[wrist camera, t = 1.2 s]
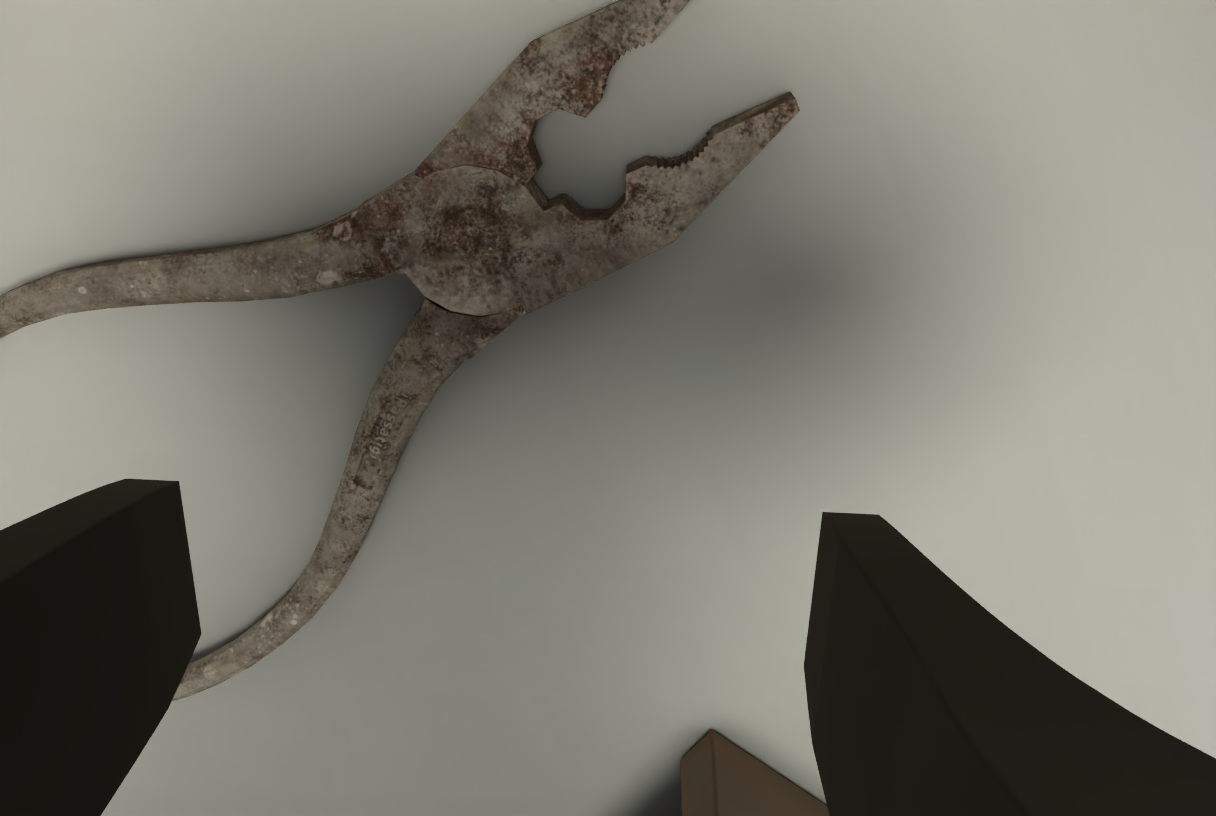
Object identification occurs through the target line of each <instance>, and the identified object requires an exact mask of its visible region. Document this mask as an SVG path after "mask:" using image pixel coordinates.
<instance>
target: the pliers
mask: <svg viewBox="0 0 1216 816" xmlns="http://www.w3.org/2000/svg"><path fill="white" fill-rule="evenodd" d="M689 1H690V0H620V1H617V2H615V3H613V4H611V5H609V6H607V7H604V8H602V9H600V10H598V11H596V12H594V13H592V14H589V15H587V16H585V17H583V18H581V19H579V20H576V21H574V22H572V23H570V24H568V25H566V26H564V27H561V28H559V29H557V30H555V31H553V32H551V33H548V34H546V35H544V36H542V37H540V38H538V39H536V40H533V41H532V42H530V43H529V45H528V46H527V47H526V48H525V49H524V50H523V51H522V52H521V53H520V54H519V56H518V57H517V58H516V59H515V60H514V61H513V62H512V63H511V64H510V66H509V67H508V68H507V69H506V70H505V71H504V72H503V73H502V74H501V76H500V77H499V78H498V79H497V80H496V81H495V82H494V83H493V84H492V86H491V87H490V88H489V89H488V90H487V91H486V92H485V93H484V94H483V96H482V97H481V98H480V99H479V100H478V101H477V102H476V103H475V104H474V105H473V107H472V108H471V109H470V110H469V111H468V112H467V113H466V114H465V115H464V117H463V118H462V119H461V120H460V121H459V122H458V123H457V124H456V125H455V127H454V128H453V129H452V130H451V131H450V132H449V133H448V134H447V135H446V137H445V138H444V139H443V140H442V141H441V142H440V143H439V144H438V146H437V147H436V148H435V149H434V150H433V151H432V152H431V153H430V154H429V156H428V157H427V158H426V159H425V160H424V161H423V162H422V163H421V164H420V166H419V167H418V168H417V169H416V170H415V172H413V173H411V174H410V175H408V176H406V177H405V178H403V179H401V180H400V181H398V182H397V183H395V184H393V185H392V186H390V187H388V188H387V189H385V190H383V191H382V192H380V193H379V194H377V195H375V196H374V197H372V198H370V199H369V200H367V201H365V202H364V203H363V204H362V205H360V206H359V207H358V208H357V209H355V210H353V211H351V212H349V213H347V214H345V215H343V216H341V217H339V218H337V219H335V220H333V221H331V222H328V223H326V224H324V225H322V226H320V227H318V228H316V229H312V230H308V231H304V232H300V233H296V234H293V235H289V236H285V237H281V238H277V239H272V240H266V241H261V242H255V243H249V244H244V245H238V246H232V247H223V248H215V249H207V250H199V251H190V252H182V253H174V254H166V255H158V256H150V257H142V258H135V259H127V260H119V261H111V262H104V263H98V264H94V265H89V266H84V267H80V268H75V269H71V270H66V271H61V272H57V273H54V274H51V275H49V276H46V277H43V278H41V279H38V280H36V281H33V282H30V283H28V284H25V285H23V286H20V287H17V288H15V289H12V290H10V291H8V292H7V293H5V294H3V295H1V296H0V338H2V337H4V336H6V335H8V334H10V333H12V332H14V331H16V330H18V329H20V328H22V327H24V326H27V325H30V324H34V323H37V322H40V321H44V320H47V319H50V318H54V317H57V316H60V315H64V314H67V313H75V312H82V311H90V310H97V309H105V308H117V307H129V306H142V305H157V304H174V303H192V302H229V301H250V300H262V299H274V298H287V297H293V296H298V295H303V294H308V293H313V292H318V291H323V290H328V289H333V288H338V287H342V286H346V285H350V284H354V283H358V282H363V281H367V280H371V279H375V278H379V277H383V276H386V275H389V274H406V275H407V277H408V278H409V279H410V280H411V281H412V282H413V284H414V285H415V286H416V287H417V288H418V289H419V290H420V292H421V293H422V294H423V295H424V296H425V299H424V302H423V305H422V306H421V307H420V309H419V310H418V312H417V313H416V314H415V316H414V318H413V319H412V321H411V323H410V324H409V326H408V327H407V329H406V331H405V332H404V334H403V336H402V337H401V339H400V340H399V342H398V344H397V345H396V347H395V349H394V350H393V352H392V353H391V355H390V357H389V359H388V361H387V363H386V365H385V367H384V369H383V370H382V372H381V374H380V376H379V378H378V380H377V382H376V384H375V386H374V387H373V389H372V391H371V393H370V396H369V399H368V401H367V404H366V407H365V409H364V412H363V415H362V417H361V420H360V423H359V425H358V428H357V431H356V434H355V437H354V440H353V444H352V447H351V451H350V454H349V457H348V461H347V464H346V467H345V470H344V473H343V476H342V479H341V482H340V485H339V488H338V491H337V494H336V497H335V499H334V502H333V505H332V508H331V511H330V513H329V516H328V519H327V521H326V524H325V527H324V529H323V532H322V535H321V537H320V540H319V542H318V544H317V547H316V549H315V551H314V553H313V556H312V558H311V560H310V562H309V564H308V566H307V567H306V569H305V570H304V572H303V573H302V575H301V576H300V578H299V579H298V580H297V582H296V583H295V585H294V586H293V588H292V589H291V590H290V591H289V592H288V594H287V595H286V596H285V597H284V598H283V599H282V600H281V601H280V602H279V603H278V604H277V605H276V606H275V607H274V608H273V609H272V610H271V611H270V612H269V613H268V614H267V615H266V616H264V617H263V618H262V619H261V620H259V621H258V622H257V623H256V624H255V625H253V626H252V627H251V628H250V629H248V630H247V631H246V632H245V633H243V634H242V635H241V636H240V637H238V638H237V639H235V640H233V641H232V642H230V643H228V644H226V645H225V646H223V647H221V648H219V649H218V650H216V651H214V652H212V653H211V654H209V655H207V656H205V657H203V658H200V659H198V660H196V661H193V662H191V663H189V664H188V666H187V669H186V671H185V674H184V676H183V678H182V680H181V682H180V684H179V686H178V689H177V691H176V693H175V695H174V697H173V699H172V701H174V700H178V699H182V698H185V697H188V696H190V695H193V694H195V693H198V692H200V691H203V690H205V689H208V688H210V687H213V686H215V685H218V684H219V683H221V682H223V681H225V680H227V679H229V678H230V677H232V676H234V675H236V674H238V673H240V672H241V671H243V670H245V669H247V668H249V667H250V666H252V665H253V664H255V663H256V662H258V661H259V660H260V659H262V658H263V657H265V656H266V655H267V654H269V653H270V652H271V651H273V650H274V649H276V648H277V647H278V646H280V645H281V644H283V643H284V642H285V641H286V640H287V639H288V638H290V637H291V636H292V635H293V634H294V633H295V632H296V631H297V630H299V629H300V628H301V627H302V626H303V625H304V624H305V623H306V622H307V621H309V620H310V619H311V618H312V617H313V616H314V615H315V613H316V612H317V611H318V610H319V609H320V607H321V606H322V605H323V604H324V602H325V601H326V600H327V599H328V598H329V596H330V595H331V594H332V593H333V591H334V590H335V589H336V588H337V587H338V585H339V583H340V581H341V580H342V578H343V576H344V575H345V573H346V571H347V569H348V568H349V566H350V564H351V562H352V561H353V559H354V557H355V555H356V554H357V552H358V550H359V548H360V546H361V544H362V541H363V539H364V537H365V535H366V533H367V530H368V528H369V526H370V524H371V522H372V519H373V517H374V515H375V513H376V511H377V508H378V506H379V504H380V502H381V499H382V497H383V495H384V493H385V491H386V488H387V486H388V484H389V482H390V479H391V477H392V475H393V473H394V470H395V468H396V466H397V464H398V461H399V459H400V457H401V455H402V452H403V450H404V448H405V446H406V444H407V442H408V440H409V438H410V436H411V434H412V432H413V430H414V428H415V426H416V424H417V422H418V420H419V418H420V417H421V415H422V414H423V412H424V410H425V409H426V407H427V406H428V404H429V402H430V401H431V399H432V398H433V396H434V395H435V393H436V391H437V390H438V388H439V387H440V385H441V384H442V383H443V382H444V381H445V380H446V379H447V378H448V377H449V376H450V375H451V374H452V373H453V372H454V371H455V370H456V369H457V368H458V367H459V366H460V365H461V364H462V363H463V362H464V360H465V359H466V358H471V357H473V356H474V355H475V354H476V353H477V352H478V351H480V350H481V349H482V348H483V347H484V346H485V345H487V344H488V343H489V342H490V341H491V340H492V339H494V338H495V337H496V336H497V335H498V334H499V333H500V332H502V331H503V330H504V329H505V328H506V327H507V326H509V325H510V324H511V323H512V322H513V321H514V320H516V319H517V318H518V317H519V316H520V315H521V314H523V311H524V310H525V312H526V314H527V313H529V312H531V311H533V310H536V309H538V308H540V307H542V306H544V305H546V304H549V303H551V302H553V301H555V300H557V299H559V298H561V297H564V296H566V295H568V294H570V293H572V292H574V291H576V290H578V289H580V288H582V287H584V286H586V285H588V284H590V283H592V282H594V281H596V280H598V279H600V278H602V277H604V276H606V275H608V274H610V273H612V272H614V271H616V270H618V269H620V268H622V267H624V266H626V265H628V264H630V263H632V262H634V261H636V260H638V259H640V258H642V257H644V256H646V255H648V254H650V253H652V252H654V251H656V250H658V249H660V248H662V247H664V246H666V245H668V244H670V243H672V242H673V241H674V240H675V239H676V238H677V237H678V236H679V235H680V234H681V233H682V232H683V231H684V230H685V229H686V228H687V227H688V226H689V225H690V224H691V223H692V222H693V221H694V220H695V219H696V217H697V216H698V215H699V214H700V213H701V212H702V211H703V210H704V209H705V208H706V207H707V206H708V205H709V204H710V203H711V202H712V201H713V200H714V199H715V198H716V197H717V196H718V195H719V194H720V193H721V192H722V191H723V190H724V189H725V187H726V186H727V185H728V184H729V183H730V182H731V181H732V180H733V179H734V178H735V177H736V176H737V175H738V174H739V173H740V172H741V171H742V170H743V169H744V168H745V167H746V166H747V165H748V164H749V163H750V162H751V161H752V160H753V158H754V157H755V156H756V155H757V154H758V153H759V152H760V151H761V150H762V149H763V148H764V147H765V146H766V145H767V144H768V143H769V142H770V141H771V140H772V139H773V138H774V137H775V136H776V135H777V134H778V133H779V132H780V131H781V130H782V128H783V127H784V126H785V125H786V124H787V123H788V122H789V121H790V120H791V119H792V118H793V117H794V116H795V115H796V114H797V113H798V112H799V111H800V110H799V107H798V104H797V102H796V99H795V97H794V96H793V95H792V93H791V92H788V93H786V94H784V95H782V96H780V97H777V98H775V99H773V100H771V101H768V102H766V103H764V104H762V105H760V106H757V107H755V108H753V109H751V110H749V111H746V112H744V113H742V114H740V115H737V116H735V117H733V118H731V119H729V120H726V121H724V122H722V123H720V124H718V125H715V126H713V127H712V129H711V132H709V133H706V135H707V138H705V139H703V144H698V149H696V148H693V151H692V153H691V152H687V154H686V156H684V155H681V156H680V158H678V157H676V156H675V157H674V159H673V160H672V159H671V158H669V157H668V158H667V159H666V160H665V159H664V158H663V157H662V158H660V159H658V158H657V157H656V156H655V157H653V158H650V157H648V156H647V157H644V158H642V159H640V160H638V161H636V162H633V163H631V164H629V165H627V171H626V193H625V194H624V195H623V196H622V197H621V198H620V199H619V200H618V201H617V203H616V204H615V205H614V206H613V207H612V208H611V209H609V210H585V209H583V208H582V207H581V206H580V205H578V204H577V203H576V202H575V201H574V200H572V199H571V198H570V197H569V196H567V195H566V194H563V195H560V196H558V197H556V198H554V199H551V200H549V201H548V200H547V199H546V197H545V196H544V195H543V193H542V192H541V191H540V189H539V188H538V187H537V185H536V184H535V182H534V181H533V180H532V177H533V176H534V175H535V174H536V172H537V171H538V169H539V168H540V166H541V164H542V161H541V159H540V156H539V154H538V151H537V149H536V146H535V144H534V141H533V139H532V137H533V133H534V130H535V127H536V124H537V121H538V119H539V118H541V117H543V116H545V115H547V114H549V113H551V112H553V111H555V110H557V109H561V110H564V111H567V112H570V113H573V114H576V115H579V116H582V117H586V116H587V115H588V114H589V113H590V112H591V111H592V110H593V109H594V107H595V106H596V105H597V104H598V103H599V102H600V101H601V99H602V96H603V92H604V90H605V87H606V84H605V83H606V81H607V79H608V78H607V77H608V74H609V72H610V70H611V68H612V66H613V65H614V64H615V62H616V60H619V58H620V56H621V55H624V54H625V52H626V50H627V51H631V48H632V47H634V48H636V49H637V47H638V45H639V44H640V45H641V46H643V47H644V45H645V44H646V43H652V42H653V41H654V40H655V39H656V38H657V37H658V36H659V34H660V33H661V32H662V31H663V30H664V29H665V28H666V27H667V25H668V24H669V23H670V22H671V21H672V20H673V19H674V18H675V17H676V15H677V14H678V13H679V12H680V11H681V10H682V9H683V8H684V6H685V5H686V4H687V3H688V2H689Z"/></svg>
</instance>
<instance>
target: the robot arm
mask: <svg viewBox="0 0 1216 816" xmlns="http://www.w3.org/2000/svg"><path fill="white" fill-rule="evenodd" d="M200 636H201V628H200V621H199V615H198V608H197V601H196V594H195V587H194V581H193V574H192V567H191V560H190V553H189V547H188V540H187V533H186V526H185V519H184V513H183V506H182V499H181V492H180V485H179V481H162V480H141V479H124V480H120V481H117V482H114V483H110V484H107V485H105V486H102V487H99V488H97V489H94V490H91V491H89V492H86V493H84V494H82V495H79V496H77V497H74V498H72V499H70V500H67V501H65V502H63V503H61V504H58V505H56V506H54V507H51V508H49V509H47V510H45V511H43V512H40V513H38V514H36V515H34V516H31V517H29V518H27V519H25V520H23V521H20V522H18V523H16V524H14V525H11V526H9V527H7V528H5V529H3V530H0V816H101V814H102V813H103V811H104V810H105V808H106V806H107V805H108V803H109V802H110V800H111V799H112V797H113V796H114V794H115V792H116V791H117V789H118V788H119V786H120V785H121V783H122V782H123V780H124V778H125V777H126V775H127V774H128V772H129V771H130V769H131V768H132V766H133V764H134V763H135V761H136V760H137V758H138V756H139V755H140V753H141V752H142V750H143V748H144V747H145V745H146V744H147V742H148V740H149V739H150V737H151V736H152V734H153V733H154V731H155V729H156V728H157V726H158V724H159V723H160V721H161V720H162V718H163V716H164V715H165V713H166V711H167V710H168V708H169V706H170V704H171V701H172V699H173V697H174V695H175V693H176V691H177V689H178V686H179V684H180V682H181V680H182V678H183V676H184V674H185V671H186V669H187V666H188V664H189V662H190V659H191V657H192V655H193V652H194V650H195V648H196V645H197V643H198V640H199V638H200ZM804 672H805V681H806V691H807V701H808V711H809V719H810V728H811V736H812V744H813V749H814V753H815V757H816V761H817V766H818V770H819V774H820V778H821V782H822V786H823V790H824V795H825V799H826V803H827V807H828V811H829V815H830V816H1216V759H1215V758H1213V757H1212V756H1210V755H1208V754H1206V753H1204V752H1202V751H1200V750H1198V749H1196V748H1194V747H1193V746H1191V745H1189V744H1187V743H1185V742H1183V741H1181V740H1179V739H1177V738H1175V737H1174V736H1172V735H1170V734H1168V733H1166V732H1164V731H1162V730H1161V729H1159V728H1157V727H1156V726H1154V725H1152V724H1150V723H1149V722H1147V721H1145V720H1143V719H1142V718H1140V717H1138V716H1136V715H1135V714H1133V713H1131V712H1130V711H1128V710H1126V709H1125V708H1123V707H1122V706H1120V705H1119V704H1117V703H1115V702H1114V701H1112V700H1111V699H1109V698H1108V697H1106V696H1104V695H1103V694H1101V693H1100V692H1098V691H1097V690H1095V689H1093V688H1092V687H1090V686H1089V685H1087V684H1086V683H1084V682H1082V681H1081V680H1079V679H1078V678H1076V677H1075V676H1073V675H1072V674H1070V673H1069V672H1068V671H1066V670H1065V669H1063V668H1062V667H1060V666H1059V665H1057V664H1056V663H1055V662H1053V661H1052V660H1050V659H1049V658H1048V657H1046V656H1045V655H1044V654H1042V653H1041V652H1040V651H1038V650H1037V649H1036V648H1034V647H1033V646H1032V645H1030V644H1029V643H1028V642H1026V641H1025V640H1024V639H1023V638H1021V637H1020V636H1019V635H1017V634H1016V633H1015V632H1013V631H1012V630H1011V629H1009V628H1008V627H1007V626H1006V625H1004V624H1003V623H1002V622H1001V621H999V620H998V619H997V618H996V617H994V616H993V615H992V614H991V613H990V612H988V611H987V610H986V609H985V608H983V607H982V606H981V605H980V604H979V603H978V602H976V601H975V600H974V599H973V598H972V597H970V596H969V595H968V594H967V593H966V592H965V591H964V590H962V589H961V588H960V587H959V586H958V585H957V584H956V583H954V582H953V581H952V580H951V579H950V578H949V577H948V576H947V575H945V574H944V573H943V572H942V571H941V570H940V569H939V568H938V567H937V566H935V565H934V564H933V563H932V562H931V561H930V560H929V559H928V558H927V557H926V556H924V555H923V554H922V553H921V552H920V551H919V550H918V549H917V548H916V547H915V546H914V545H913V544H911V543H910V542H909V541H908V540H907V539H906V538H905V537H904V536H903V535H902V534H901V533H899V532H898V531H897V530H896V529H895V528H894V527H893V526H892V525H890V524H889V523H888V522H887V521H886V520H884V519H883V518H882V517H881V516H879V515H873V514H852V513H831V512H823V513H822V521H821V529H820V538H819V546H818V554H817V562H816V570H815V579H814V587H813V595H812V603H811V611H810V620H809V628H808V636H807V644H806V652H805V661H804Z"/></svg>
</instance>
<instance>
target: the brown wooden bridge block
mask: <svg viewBox="0 0 1216 816" xmlns="http://www.w3.org/2000/svg"><path fill="white" fill-rule="evenodd" d="M681 789H682V816H830V815H829V811H828V807H827V806H826V805H824V804H823V803H821V802H820V801H818V800H817V799H815V798H814V797H812V796H811V795H809V794H808V793H806V792H805V791H803V790H802V789H800V788H799V787H797V786H796V785H794V784H793V783H791V782H790V781H788V780H787V779H785V778H784V777H782V776H781V775H779V774H777V773H776V772H774V771H773V770H771V769H770V768H768V767H767V766H765V765H764V764H762V763H761V762H759V761H758V760H756V759H755V758H753V757H752V756H750V755H749V754H747V753H746V752H744V751H743V750H741V749H740V748H738V747H737V746H735V745H734V744H732V743H731V742H729V741H728V740H726V739H725V738H723V737H722V736H720V735H719V734H717V733H716V732H714V731H710V732H709V733H708V734H707V735H706V736H705V737H704V738H703V739H702V740H701V741H699V742H698V743H697V744H696V745H695V746H694V747H693V748H692V749H691V750H690V751H689V752H688V753H687V754H686V755H685V756H684V757H683V758H682V760H681Z"/></svg>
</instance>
